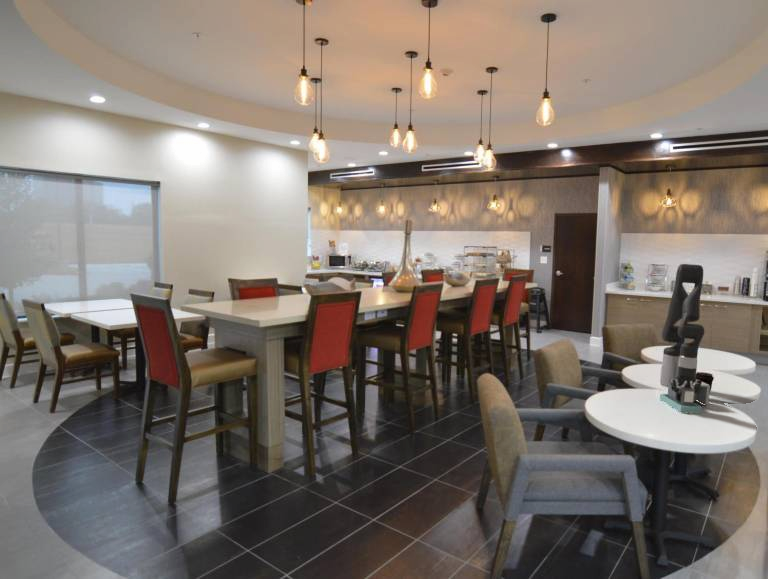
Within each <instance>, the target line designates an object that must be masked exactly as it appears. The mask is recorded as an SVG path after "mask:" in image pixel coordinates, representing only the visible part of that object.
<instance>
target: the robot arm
mask: <svg viewBox="0 0 768 579" xmlns="http://www.w3.org/2000/svg"><path fill="white" fill-rule="evenodd" d="M675 274H676V275H675V281H674V287H673V292H672V293H671V294H672V295H671V298H670V303H669V305H668V306H669V307H668V311H667V315H666V319H665V322H664V325H663V328H662V332H661V338H662V341H664V342H666V343H674V345H671V346H668V347H665V348H664V349H663V351H662V352H663V355H662V364H661V368H660V370H661V371H660V381H659V382H660V385H661V386H664V387H668V385H669V381H671V388H672V391H674V392H676V396H675V398H676V400H677V401H680V397H681V394H680V393H681V389H682V388H684V387H690V388H693V389H695V393H698V392H699V389H700V386H701V383H702V381H700V380H698V379H697V380H696V379H695V377H696V373H697V369H698V353H699V347H700V345H701V342H702V339H703V337H704V336H705V327H704V326H703V325H701V324H696V323H694V322H698V321H699V320H700V316H701V315H700V313H701V312H700V304H701V295H702V290H703V289H702V288H703V283H704V267H703V265H700V264H688V263H682V264H679V265H678V267H677V270H676V273H675ZM683 283H686V284H694V287H693V289H692V291H691V292H690V293H689V294H688V292H687V291H686V289H685V288H684V284H683ZM679 321H680V324H679V325H676V323H678V322H679ZM687 339H689V340H692V341H691V342H685V341H686V340H687ZM677 381H678V385H677V387H676V383H677ZM694 383H695V385H694V387H693V384H694ZM680 386H681V387H680Z"/></svg>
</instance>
